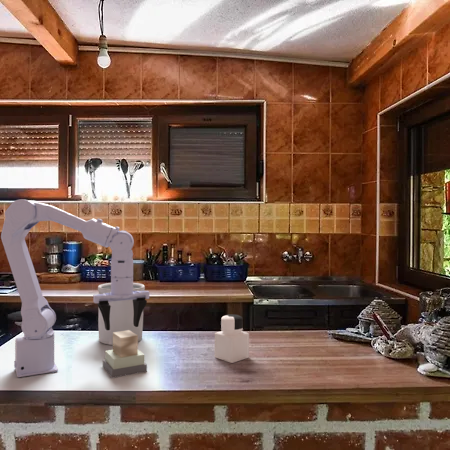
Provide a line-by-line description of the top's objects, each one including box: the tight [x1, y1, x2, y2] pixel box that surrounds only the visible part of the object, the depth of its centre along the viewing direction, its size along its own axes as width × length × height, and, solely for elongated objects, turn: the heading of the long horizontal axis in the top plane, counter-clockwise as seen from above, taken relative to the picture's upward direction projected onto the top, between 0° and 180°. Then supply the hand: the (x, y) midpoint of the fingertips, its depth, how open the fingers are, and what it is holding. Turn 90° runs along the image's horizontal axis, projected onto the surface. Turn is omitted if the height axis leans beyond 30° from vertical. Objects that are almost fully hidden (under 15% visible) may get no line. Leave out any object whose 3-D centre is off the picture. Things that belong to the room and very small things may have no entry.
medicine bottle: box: [214, 313, 250, 364], centre depth 126 cm, size 7×7×12 cm
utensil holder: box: [97, 282, 146, 346], centre depth 143 cm, size 15×15×18 cm
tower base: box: [102, 359, 148, 379], centre depth 116 cm, size 9×9×2 cm
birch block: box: [112, 330, 139, 357], centre depth 116 cm, size 4×6×5 cm
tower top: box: [104, 349, 145, 369], centre depth 116 cm, size 8×8×2 cm
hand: (121, 327), depth 118 cm, fingers open, 7 cm apart
